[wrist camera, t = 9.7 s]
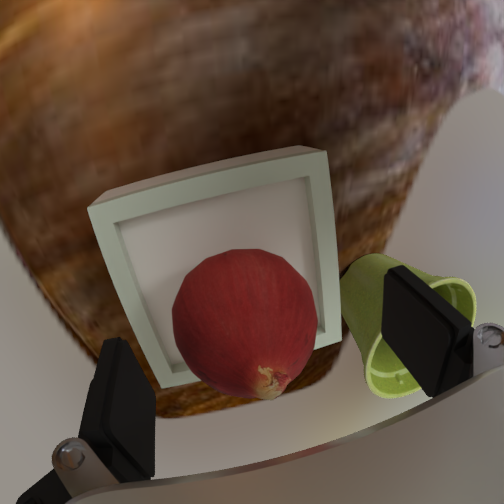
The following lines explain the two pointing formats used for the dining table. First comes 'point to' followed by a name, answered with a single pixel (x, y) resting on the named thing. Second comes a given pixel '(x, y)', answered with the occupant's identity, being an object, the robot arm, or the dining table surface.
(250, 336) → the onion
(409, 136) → the dining table surface
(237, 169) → the pedestal
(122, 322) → the dining table surface
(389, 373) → the plant pot
